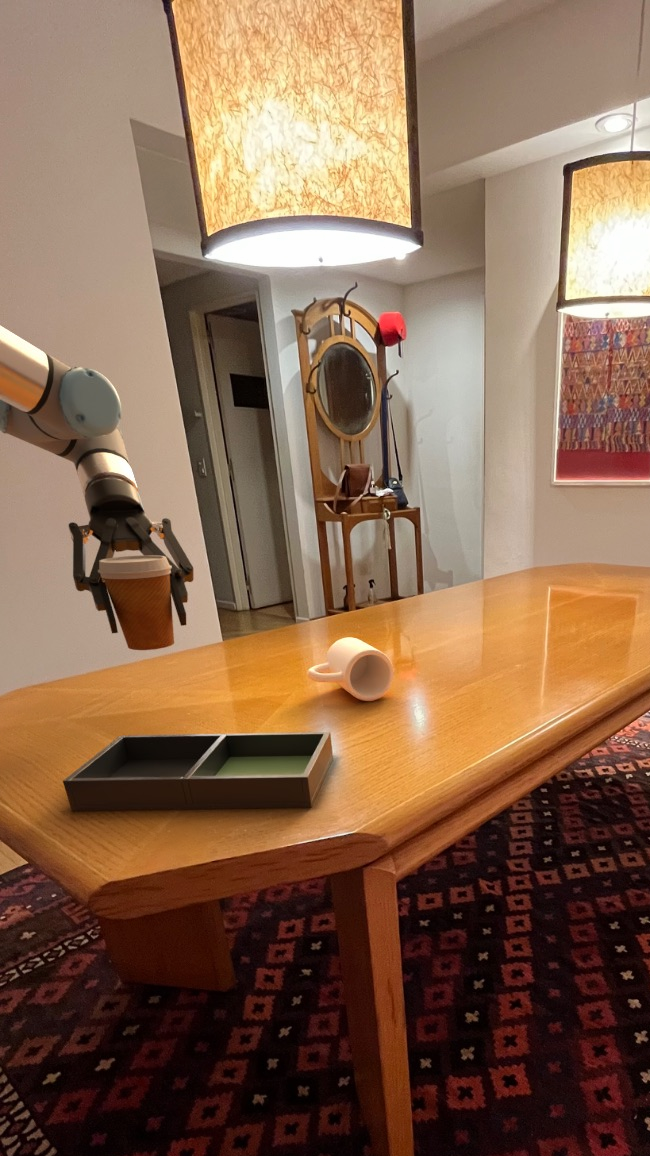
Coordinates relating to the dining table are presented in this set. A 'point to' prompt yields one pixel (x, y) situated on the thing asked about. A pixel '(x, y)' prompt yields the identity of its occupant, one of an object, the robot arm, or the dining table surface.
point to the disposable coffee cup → (141, 599)
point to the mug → (356, 669)
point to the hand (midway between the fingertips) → (149, 623)
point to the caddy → (203, 772)
